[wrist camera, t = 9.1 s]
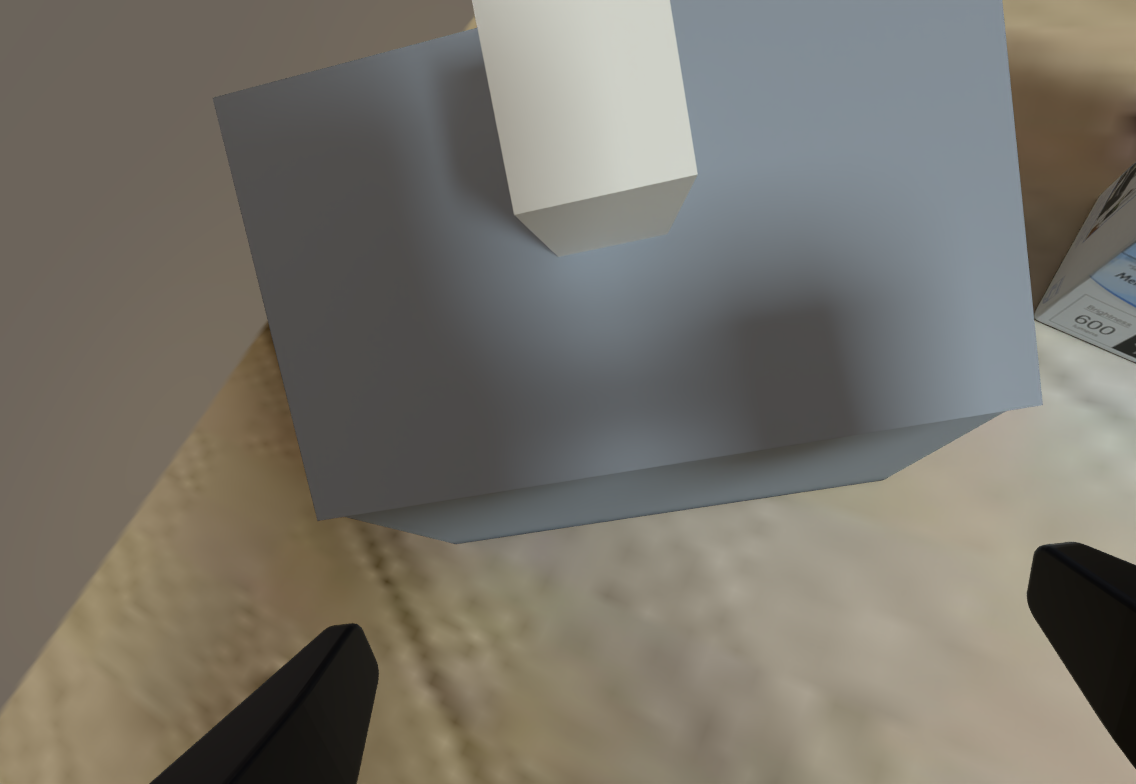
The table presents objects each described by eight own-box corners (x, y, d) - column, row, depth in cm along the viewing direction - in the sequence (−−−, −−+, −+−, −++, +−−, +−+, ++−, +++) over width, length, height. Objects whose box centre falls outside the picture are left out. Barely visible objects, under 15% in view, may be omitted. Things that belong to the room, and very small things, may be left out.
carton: (883, 480, 20) (1006, 411, 13) (455, 544, 22) (344, 516, 15) (806, 247, 24) (866, 87, 16) (445, 319, 26) (351, 206, 18)
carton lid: (1016, 399, 12) (1347, 467, 7) (334, 509, 14) (145, 634, 9) (966, -80, 11) (1310, -480, 6) (236, 111, 13) (-53, -46, 8)
